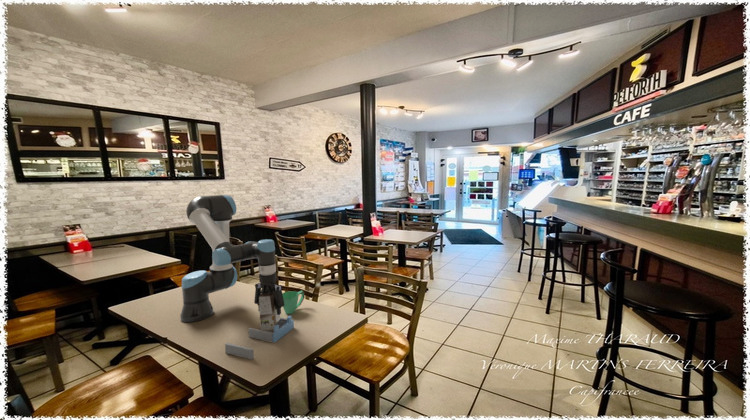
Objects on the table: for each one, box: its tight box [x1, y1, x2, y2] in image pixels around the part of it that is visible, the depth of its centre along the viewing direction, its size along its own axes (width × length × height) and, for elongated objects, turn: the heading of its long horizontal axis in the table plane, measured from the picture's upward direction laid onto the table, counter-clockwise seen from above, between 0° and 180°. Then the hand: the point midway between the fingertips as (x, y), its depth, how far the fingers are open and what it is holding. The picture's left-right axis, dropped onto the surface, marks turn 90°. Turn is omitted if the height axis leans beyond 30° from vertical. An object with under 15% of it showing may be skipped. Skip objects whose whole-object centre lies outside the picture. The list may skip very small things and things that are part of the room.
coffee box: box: [259, 291, 279, 331], centre depth 135 cm, size 9×6×16 cm
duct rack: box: [224, 315, 295, 360], centre depth 130 cm, size 15×27×7 cm, turn 160°
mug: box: [282, 290, 305, 315], centre depth 158 cm, size 15×10×10 cm
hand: (270, 319), depth 136 cm, fingers closed on coffee box, 8 cm apart
